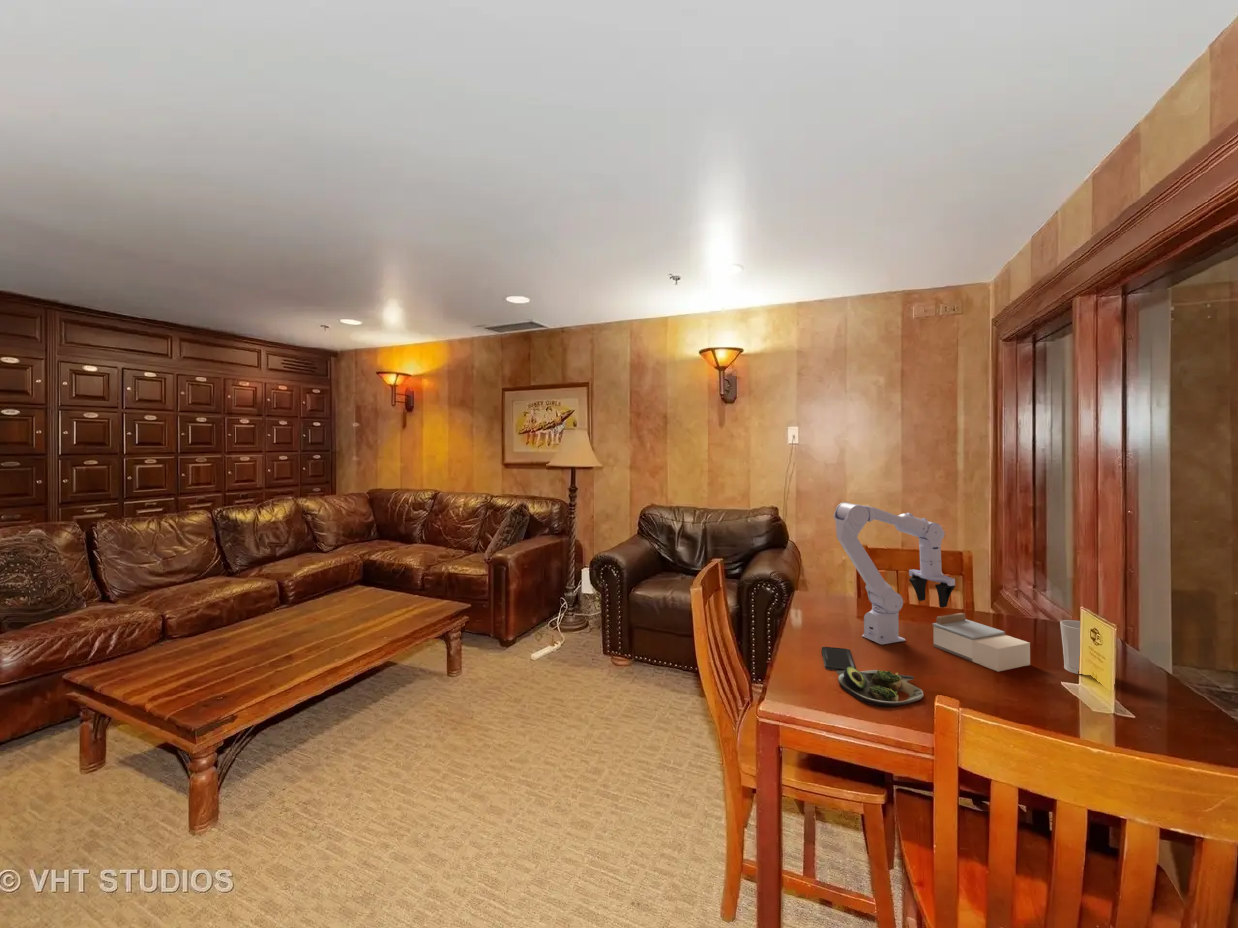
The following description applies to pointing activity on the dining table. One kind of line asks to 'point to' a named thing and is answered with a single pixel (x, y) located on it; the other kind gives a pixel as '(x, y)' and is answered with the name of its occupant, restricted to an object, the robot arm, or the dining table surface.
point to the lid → (965, 626)
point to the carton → (985, 649)
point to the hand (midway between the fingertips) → (932, 603)
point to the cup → (1071, 644)
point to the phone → (837, 658)
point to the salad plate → (878, 686)
